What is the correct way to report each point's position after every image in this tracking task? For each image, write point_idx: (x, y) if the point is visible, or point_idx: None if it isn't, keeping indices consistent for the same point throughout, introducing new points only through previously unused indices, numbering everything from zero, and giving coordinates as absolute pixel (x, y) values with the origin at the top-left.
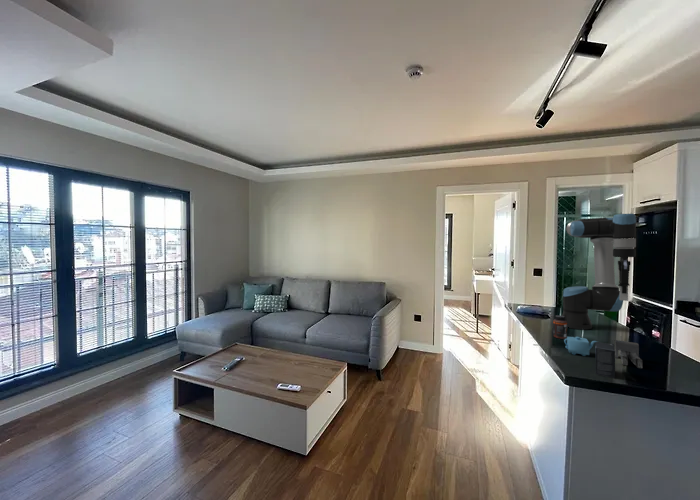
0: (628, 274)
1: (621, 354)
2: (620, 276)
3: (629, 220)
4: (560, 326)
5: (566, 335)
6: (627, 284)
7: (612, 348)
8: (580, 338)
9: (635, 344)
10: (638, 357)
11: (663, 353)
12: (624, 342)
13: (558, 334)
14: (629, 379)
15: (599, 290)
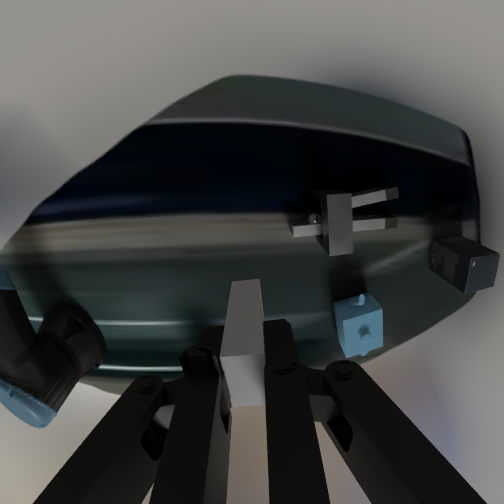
0: (451, 472)
1: (358, 229)
2: (224, 495)
3: None
4: None
5: None
6: (359, 374)
7: (493, 258)
8: (350, 331)
9: (349, 201)
10: (374, 193)
11: (191, 132)
12: (345, 230)
13: None
14: (456, 214)
15: None
